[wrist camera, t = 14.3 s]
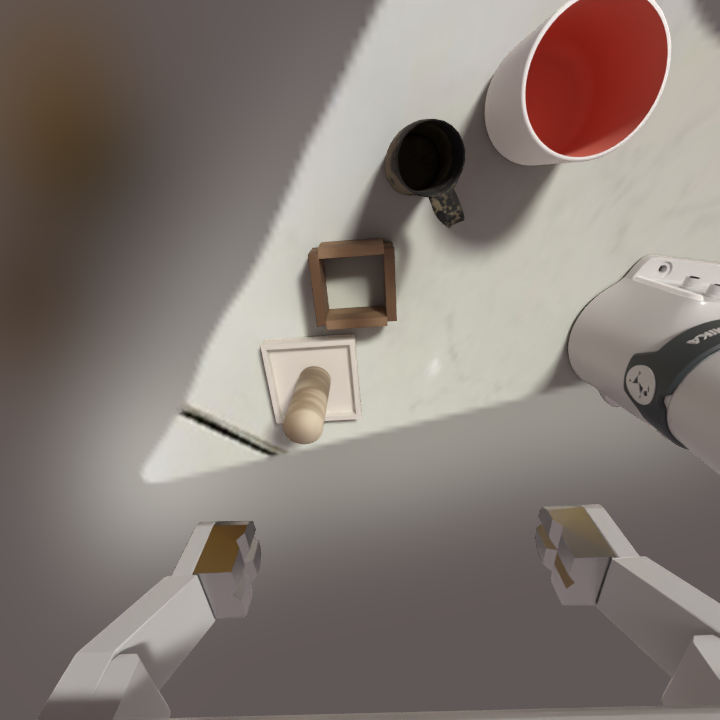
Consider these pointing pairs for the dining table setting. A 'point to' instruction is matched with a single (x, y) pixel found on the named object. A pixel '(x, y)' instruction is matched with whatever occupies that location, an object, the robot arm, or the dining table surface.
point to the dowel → (308, 406)
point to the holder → (356, 315)
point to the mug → (428, 166)
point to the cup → (579, 82)
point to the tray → (322, 351)
